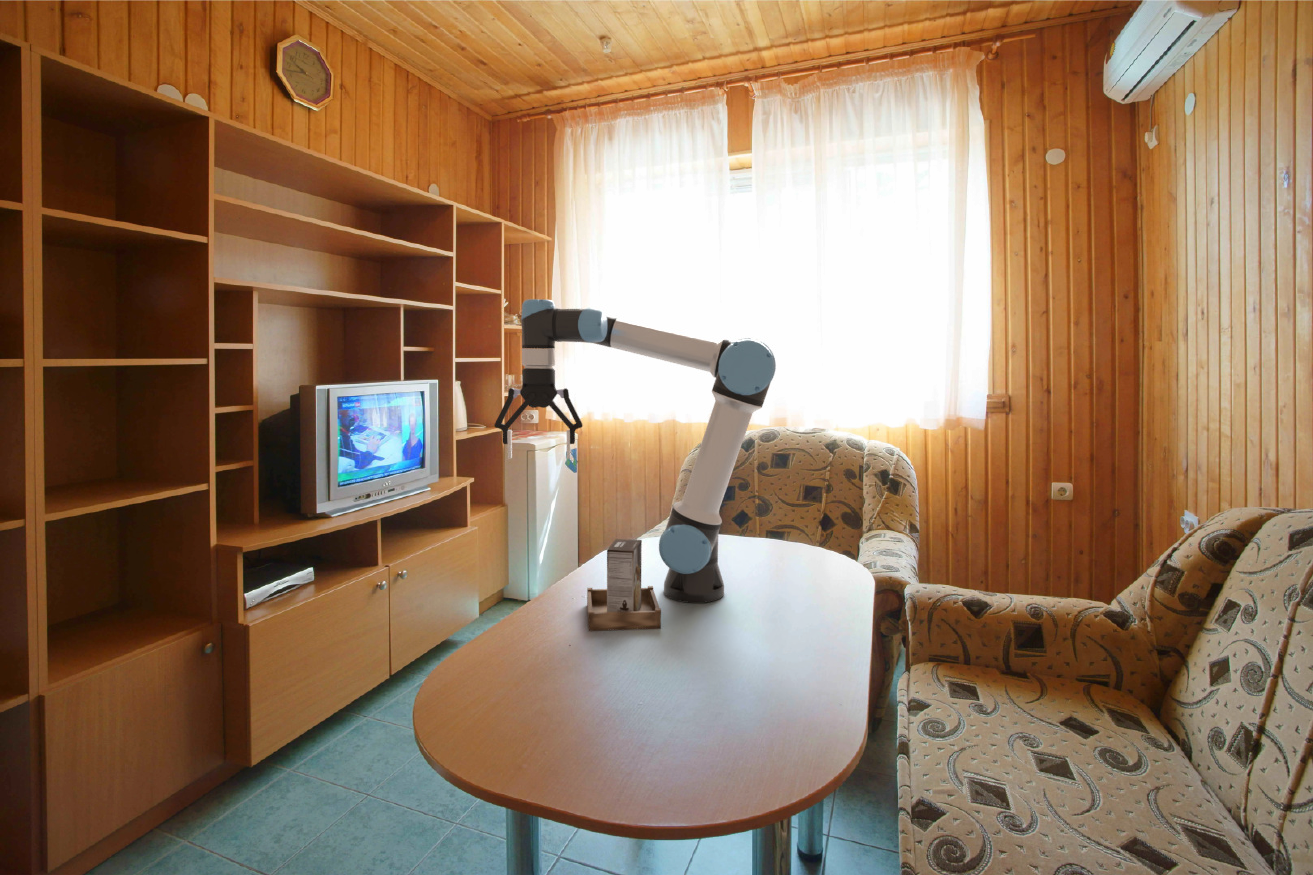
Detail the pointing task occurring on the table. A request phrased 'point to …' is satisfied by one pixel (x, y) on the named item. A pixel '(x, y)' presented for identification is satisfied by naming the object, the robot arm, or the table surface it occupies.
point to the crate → (622, 620)
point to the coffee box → (624, 575)
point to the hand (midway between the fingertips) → (539, 458)
